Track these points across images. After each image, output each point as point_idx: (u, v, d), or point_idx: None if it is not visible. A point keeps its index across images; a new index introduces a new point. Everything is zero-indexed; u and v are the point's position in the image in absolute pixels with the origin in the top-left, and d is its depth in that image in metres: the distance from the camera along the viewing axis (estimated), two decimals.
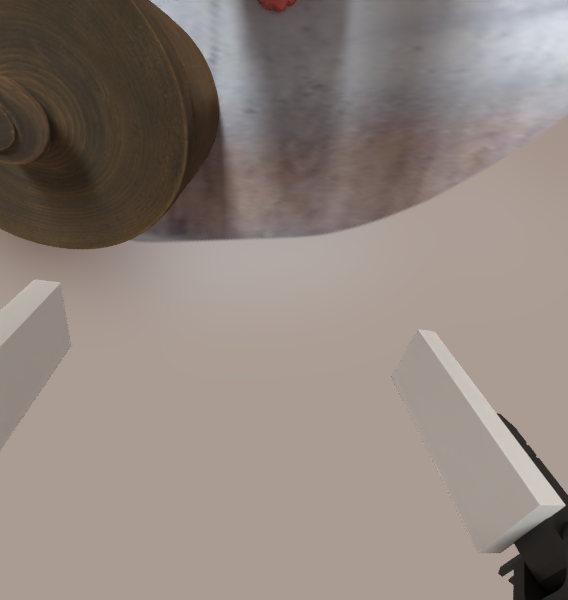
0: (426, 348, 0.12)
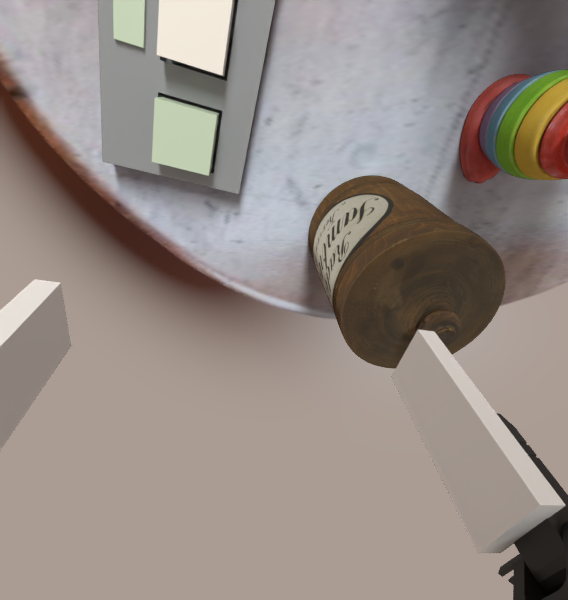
0: (426, 348, 0.12)
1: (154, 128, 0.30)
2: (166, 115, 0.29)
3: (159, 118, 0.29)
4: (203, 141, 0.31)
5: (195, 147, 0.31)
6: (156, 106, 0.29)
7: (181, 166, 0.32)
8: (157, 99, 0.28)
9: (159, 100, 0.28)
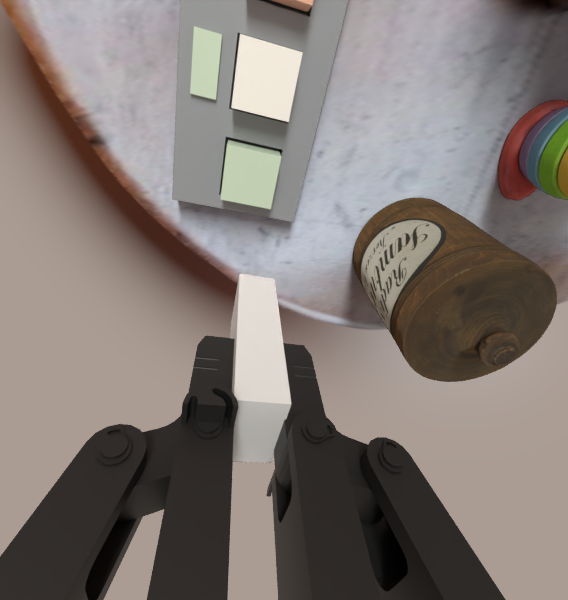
0: (256, 291, 0.13)
1: (224, 170, 0.32)
2: (236, 158, 0.32)
3: (229, 161, 0.32)
4: (268, 180, 0.33)
5: (260, 185, 0.34)
6: (227, 151, 0.32)
7: (246, 202, 0.34)
8: (229, 145, 0.31)
9: (231, 146, 0.31)
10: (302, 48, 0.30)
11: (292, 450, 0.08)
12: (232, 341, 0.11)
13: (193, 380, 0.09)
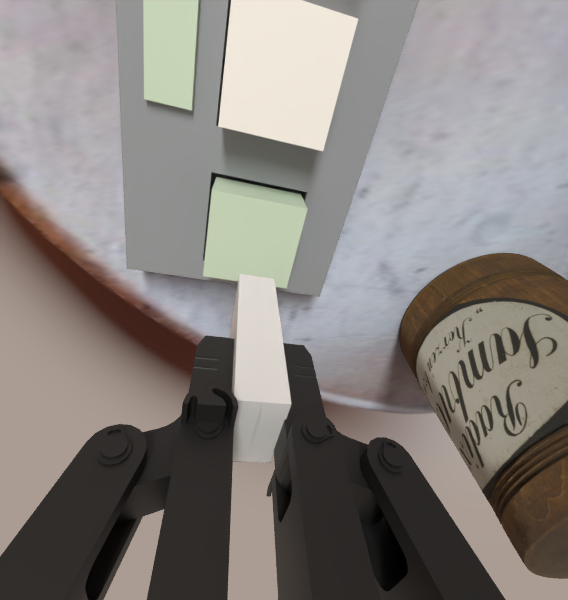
0: (256, 291, 0.13)
1: (209, 232, 0.19)
2: (228, 213, 0.18)
3: (217, 218, 0.18)
4: (283, 245, 0.20)
5: (269, 253, 0.20)
6: (213, 202, 0.18)
7: None
8: (215, 192, 0.18)
9: (219, 193, 0.18)
10: (351, 15, 0.16)
11: (292, 450, 0.08)
12: (232, 341, 0.11)
13: (193, 380, 0.09)
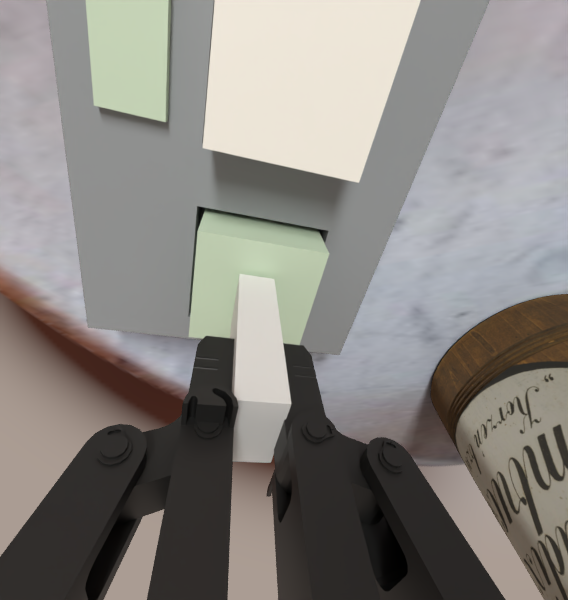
0: (256, 291, 0.13)
1: (195, 284, 0.14)
2: (221, 260, 0.13)
3: (206, 267, 0.13)
4: (295, 299, 0.15)
5: None
6: (200, 246, 0.13)
7: None
8: (203, 233, 0.13)
9: (208, 235, 0.13)
10: None
11: (292, 450, 0.08)
12: (232, 341, 0.11)
13: (193, 380, 0.09)
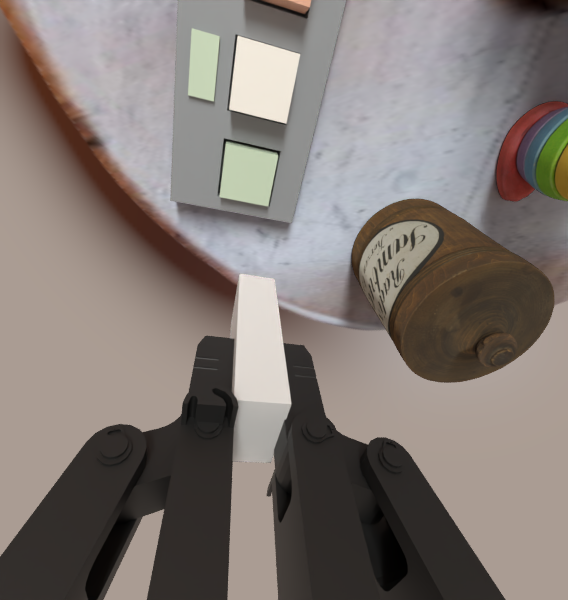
0: (256, 291, 0.13)
1: (223, 169, 0.34)
2: (234, 157, 0.33)
3: (228, 160, 0.33)
4: (265, 178, 0.35)
5: (257, 183, 0.35)
6: (226, 150, 0.33)
7: (245, 199, 0.36)
8: (228, 145, 0.32)
9: (229, 145, 0.33)
10: (300, 50, 0.30)
11: (292, 450, 0.08)
12: (232, 341, 0.11)
13: (193, 380, 0.09)
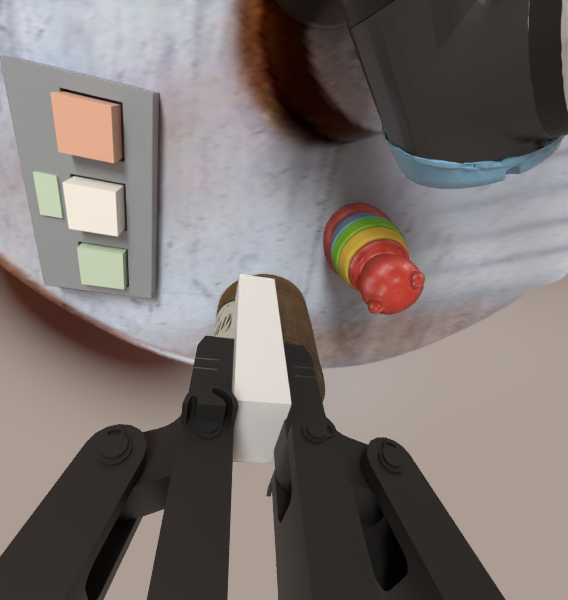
0: (256, 291, 0.13)
1: (79, 264, 0.42)
2: (86, 256, 0.42)
3: (82, 258, 0.42)
4: (116, 270, 0.43)
5: (110, 273, 0.43)
6: (78, 252, 0.41)
7: (103, 285, 0.44)
8: (79, 248, 0.41)
9: (80, 248, 0.41)
10: (124, 182, 0.38)
11: (292, 450, 0.08)
12: (232, 341, 0.11)
13: (193, 380, 0.09)
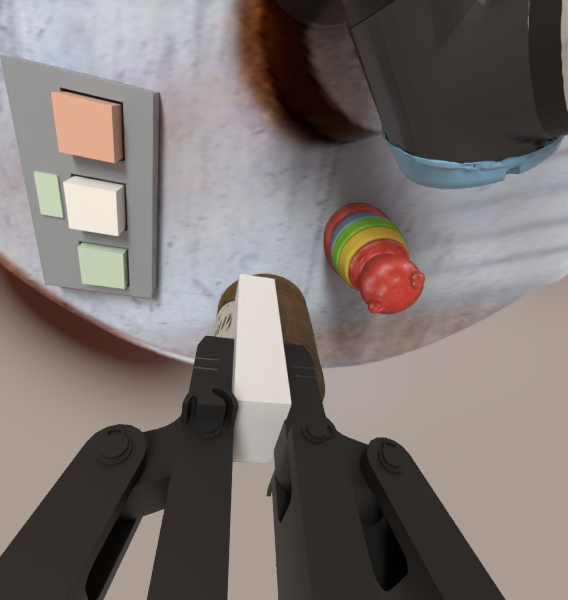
0: (256, 291, 0.13)
1: (80, 264, 0.42)
2: (87, 256, 0.42)
3: (82, 258, 0.42)
4: (116, 269, 0.43)
5: (111, 273, 0.43)
6: (79, 252, 0.41)
7: (103, 284, 0.44)
8: (79, 248, 0.41)
9: (81, 248, 0.41)
10: (125, 181, 0.38)
11: (292, 450, 0.08)
12: (232, 341, 0.11)
13: (193, 380, 0.09)
